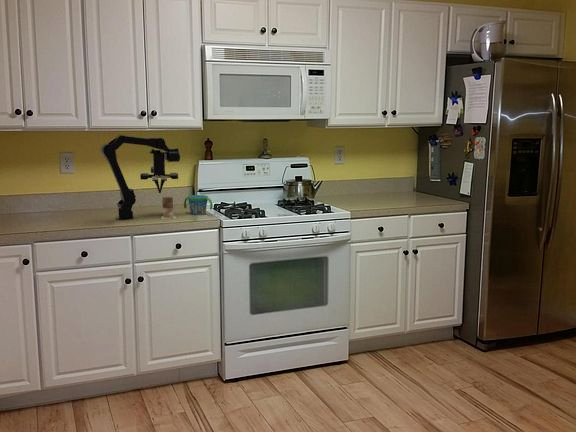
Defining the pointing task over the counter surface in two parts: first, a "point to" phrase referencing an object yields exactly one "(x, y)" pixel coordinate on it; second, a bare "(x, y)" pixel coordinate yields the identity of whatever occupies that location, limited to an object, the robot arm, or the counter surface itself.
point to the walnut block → (167, 202)
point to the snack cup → (198, 204)
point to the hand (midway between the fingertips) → (159, 193)
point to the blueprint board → (166, 218)
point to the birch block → (168, 213)
